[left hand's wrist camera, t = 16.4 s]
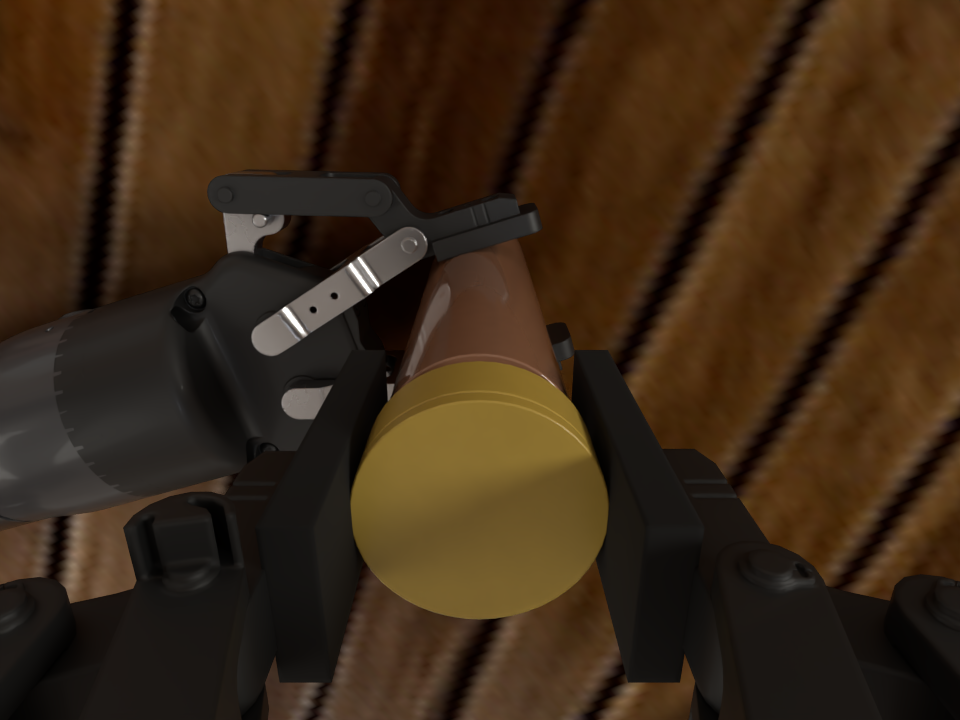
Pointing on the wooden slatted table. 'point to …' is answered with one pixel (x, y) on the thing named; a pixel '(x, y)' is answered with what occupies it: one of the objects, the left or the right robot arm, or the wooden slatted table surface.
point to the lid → (479, 492)
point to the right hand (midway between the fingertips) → (552, 278)
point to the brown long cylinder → (480, 317)
